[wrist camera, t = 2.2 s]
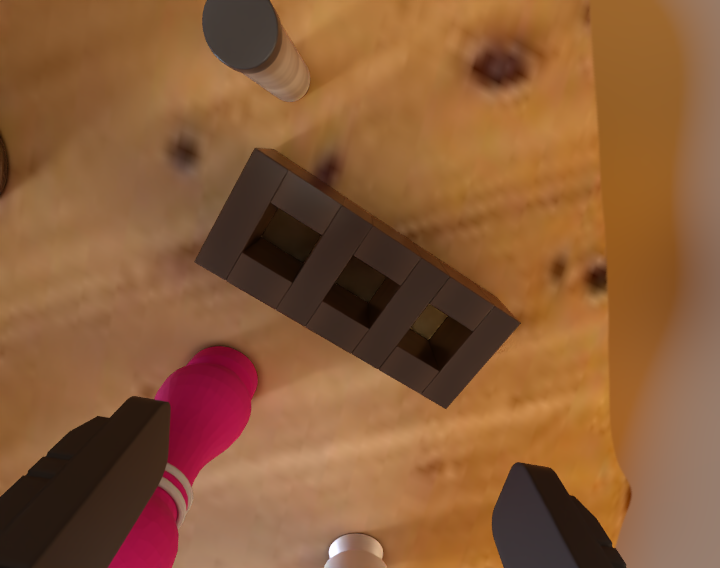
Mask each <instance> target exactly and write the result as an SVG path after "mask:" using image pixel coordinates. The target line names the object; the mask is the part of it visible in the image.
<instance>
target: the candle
mask: <svg viewBox="0 0 720 568" xmlns="http://www.w3.org/2000/svg"><path fill="white" fill-rule="evenodd" d="M329 557H330V559H329V560H328V561H327V563H326V564H325V566H324V568H387V566H386V564H385V563H384V562H383V561H382V557H383V549H382V547H381V545H380V544H379V542H378V541H377V540H375V539H374V538H372V537H370V536H367V535H364V534H357V533H356V534H347V535H344V536H341V537H339V538H338V539H336V540H335V541H334V542H333V543H332V545H331V546H330V549H329Z"/></svg>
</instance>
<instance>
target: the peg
mask: <svg viewBox="0 0 720 568" xmlns="http://www.w3.org/2000/svg"><path fill="white" fill-rule="evenodd" d="M202 25H203V32H204V36H205V39H206V42H207V44H208V46H209V48H210V49H211V51H212V52H213V53H214V55H215V56H216V57H217V58H218V59H219V60H220V61H222V62H223V63H224V64H226V65H227V66H229V67H230V68H232V69H233V70H236V71H238V72H241V73H243V74H244V75H246V76H247V77H249V78H250V79H251V80H253V81H254V82H256V83H257V84H259V85H260V86H261V87H263V88H264V89H266V90H267V91H269V92H270V93H272V94H273V95H274V96H276V97H277V98H279V99H281V100H283V101H287V102H293V101H297V100H299V99H300V98H302V97H303V96H304V95H305V94H306V92H307V90H308V88H309V85H310V73H309V70H308V67H307V65H306V64H305V62H304V60H303V59H302V57H301V55H300V54H299V52H298V51H297V49H296V47H295V46H294V44H293V42H292V41H291V39H290V38H289V36H288V34H287V33H286V31H285V29H284V28H283V26H282V25H281V22H280V19H279V16H278V14H277V12H276V10H275V9H274V7H273V5H272V4H271V2H270V0H207V1H206V4H205V7H204V11H203V18H202Z"/></svg>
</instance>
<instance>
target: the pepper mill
mask: <svg viewBox="0 0 720 568" xmlns="http://www.w3.org/2000/svg"><path fill="white" fill-rule="evenodd" d="M257 384H258V377H257V372H256V370H255V367H254V365H253V364H252V363H251V361H250V360H249V359H248V358H247V357H246V356H245V355H243V354H242V353H241V352H239V351H237V350H234V349H232V348H229V347H223V346H215V347H209V348H206V349H204V350H201V351H200V352H198V353H197V354H196V355H195V356H194V357H193V358H192V359H191V361H190V362H189V363H188V364H187V365H186V366H184V367H182V368H180V369H178V370H176V371H175V372H174V373H172V374H171V375H170V376H169V377H168V378H167V379H166V380H165V382H164V383H163V385H162V386H161V387H160V389H159V390H158V392H157V394H156V396H155V399H154V400H160V401H166V402H169V403H170V407H171V413H170V433H169V452H168V460H167V465H166V468H165V471H164V474H163V476H162V479H161V481H160V483H159V485H158V487H157V488H156V490H155V492H154V493H153V495H152V497H151V498H150V500H149V501H148V503H147V505H146V506H145V508H144V510H143V511H142V513H141V514H140V516H139V518H138V519H137V521H136V523H135V524H134V526H133V527H132V529H131V531H130V532H129V534H128V536H127V537H126V539H125V540H124V542H123V544H122V545H121V547H120V549H119V550H118V552H117V553H116V555H115V557H114V558H113V560H112V562H111V563H110V565H109V566H108V568H172V565H173V563H174V560H175V557H176V554H177V551H178V529H179V528H180V526H181V525H182V523H183V522H184V519H185V516H186V514H187V512H188V511H189V509H190V507H191V505H192V502H193V490H192V485H193V482H194V480H195V478H196V477H197V475H198V473H199V471H200V470H201V469H202V468H203V467H204V466H205V465H206V464H207V463H208V462H210V461H211V460H212V459H214V458H215V457H216V456H218V455H219V454H221V453H222V452H224V451H225V450H226V449H227V448H229V446H230V445H231V444H232V443H233V442H234V441H235V440H236V439H237V438H238V437H239V436H240V435H241V433H242V431H243V430H244V428H245V426H246V424H247V423H248V420H249V417H250V413H251V399H252V397H253V395H254V393H255V391H256V388H257Z"/></svg>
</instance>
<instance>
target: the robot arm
mask: <svg viewBox="0 0 720 568" xmlns="http://www.w3.org/2000/svg"><path fill="white" fill-rule="evenodd" d="M7 169H8V167H7V157H6V152H5V148H4V145H3V142H2V140H1V137H0V194H1V192H2V191H3V188H4V186H5V183H6V179H7ZM170 413H171V407H170V403H169V402H166V401H160V400H154V399H148V398H143V397H137V396H132V397H130V398H129V399H128V400H126V401H125V402H124V404H123V405H122V406H121V407H120V408H119V409H118V410H117V411H116V412H115V413H114V414H113V415H112V416H111V417H110V418H106V417H100V416H97V417H95V418H93V419H92V420H90V421H88V422H86V423H84V424H83V425H81V426H79V427H77V428H75V429H73V430H72V431H70V432H69V433H68V434H67V435H65V436H64V437H63V438H62V439H61V440H60V441H59V442H58V443H57V444H56V445H55V446H54V447H53V448H52V449H51V450H50V451H49V452H48V453H47V456H46V457H42V458H41V459H40V460H39V461H38V462H37V463H36V464H35V465H34V466H33V467H32V468H31V469H29V470H28V473H27V475H26V476H22V477H21V478H20V479H19V480H18V481H17V482H16V483H15V484H14V485H13V486H11V487H10V488H9V489H8V490H7V491H6V492H5V493H4V494H3V495H2V496H1V497H0V568H108V566H109V565H110V563H111V562H112V560H113V558H114V557H115V555H116V553H117V552H118V550H119V549H120V547H121V545H122V544H123V542H124V540H125V539H126V537H127V536H128V534H129V532H130V531H131V529H132V527H133V526H134V524H135V523H136V521H137V519H138V518H139V516H140V514H141V513H142V511H143V510H144V508H145V506H146V505H147V503H148V501H149V500H150V498H151V497H152V495H153V493H154V492H155V490H156V488H157V487H158V485H159V483H160V481H161V479H162V476H163V474H164V471H165V468H166V465H167V460H168V452H169V433H170ZM492 531H493V537H494V540H495V544H496V546H497V549H498V552H499V555H500V558H501V561H502V564H503V567H504V568H626V564H625V562H624V560H623V559H622V557H621V556H620V554H619V553H618V551H617V550H616V548H613V547H612V542H611V540H610V539H609V537H608V536H607V534H606V533H605V531H604V530H603V528H602V527H601V525H600V523H599V522H598V520H597V519H596V518H595V517H594V516H593V515H592V514H591V513H590V512H589V511H588V510H587V509H586V508H585V507H584V506H583V505H582V504H581V503H580V502H579V501H578V500H577V499H576V498H575V497H574V496H571V495H569V494H568V492H567V491H566V489H565V487H564V486H563V484H562V482H561V481H560V479H559V478H558V476H557V474H556V473H555V472H554V471H553V470H552V469H551V468H549V467H543V466H537V465H531V464H525V463H520V462H517V463H515V464H514V465H513V466H512V468H511V470H510V472H509V474H508V477H507V479H506V482H505V484H504V486H503V489H502V491H501V493H500V496H499V498H498V500H497V503H496V505H495V508H494V510H493V516H492Z"/></svg>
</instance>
